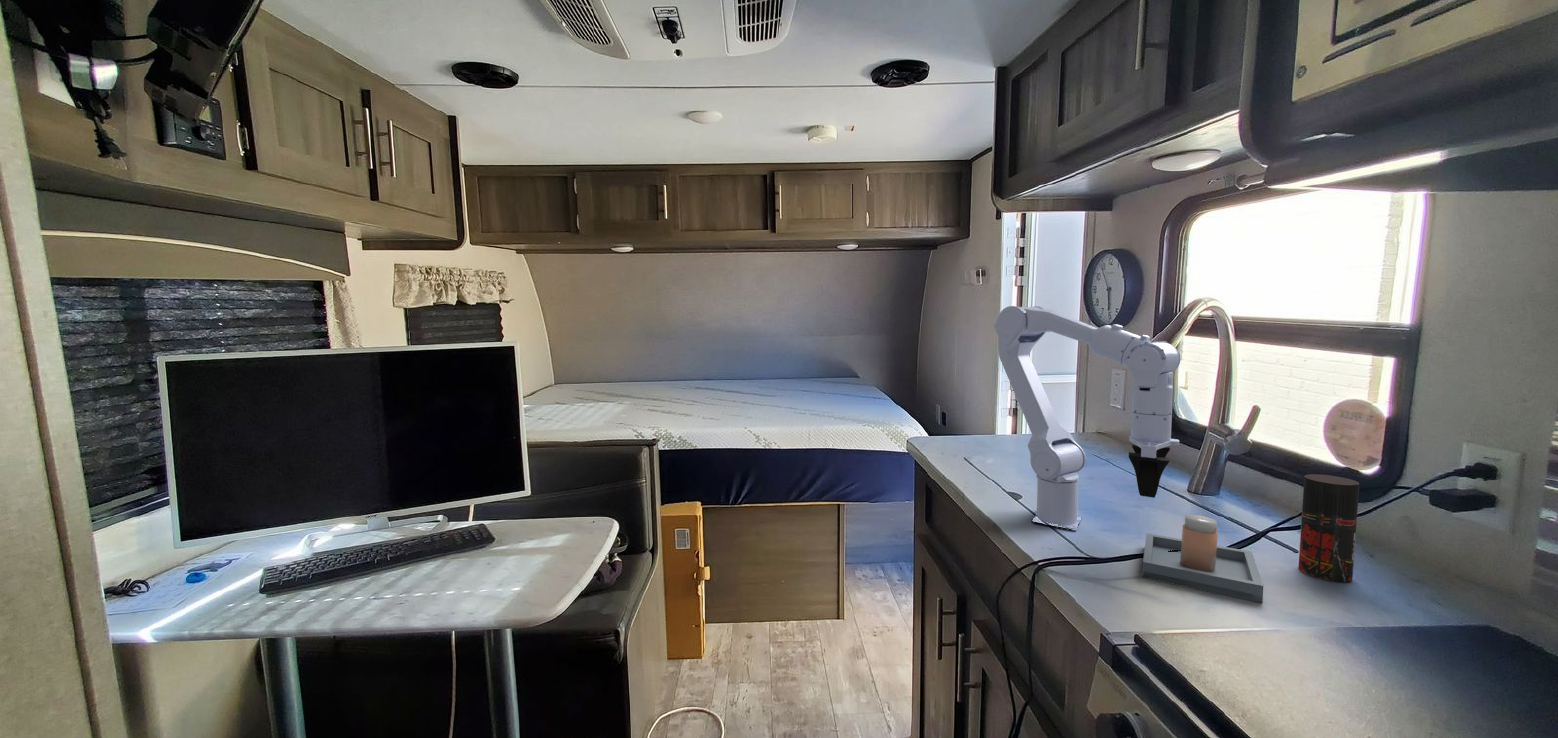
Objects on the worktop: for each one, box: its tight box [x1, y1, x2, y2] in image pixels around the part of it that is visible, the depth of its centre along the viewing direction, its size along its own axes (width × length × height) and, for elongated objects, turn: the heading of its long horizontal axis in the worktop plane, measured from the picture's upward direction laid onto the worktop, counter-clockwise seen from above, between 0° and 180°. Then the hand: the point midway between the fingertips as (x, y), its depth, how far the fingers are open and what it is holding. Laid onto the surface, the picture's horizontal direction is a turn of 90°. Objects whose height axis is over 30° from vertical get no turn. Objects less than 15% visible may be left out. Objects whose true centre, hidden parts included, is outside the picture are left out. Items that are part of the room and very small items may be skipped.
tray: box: [1142, 532, 1264, 604], centre depth 86 cm, size 14×14×2 cm
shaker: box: [1180, 514, 1219, 572], centre depth 86 cm, size 4×4×8 cm
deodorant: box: [1297, 473, 1360, 584], centre depth 84 cm, size 6×6×15 cm
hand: (1148, 490), depth 94 cm, fingers open, 7 cm apart
